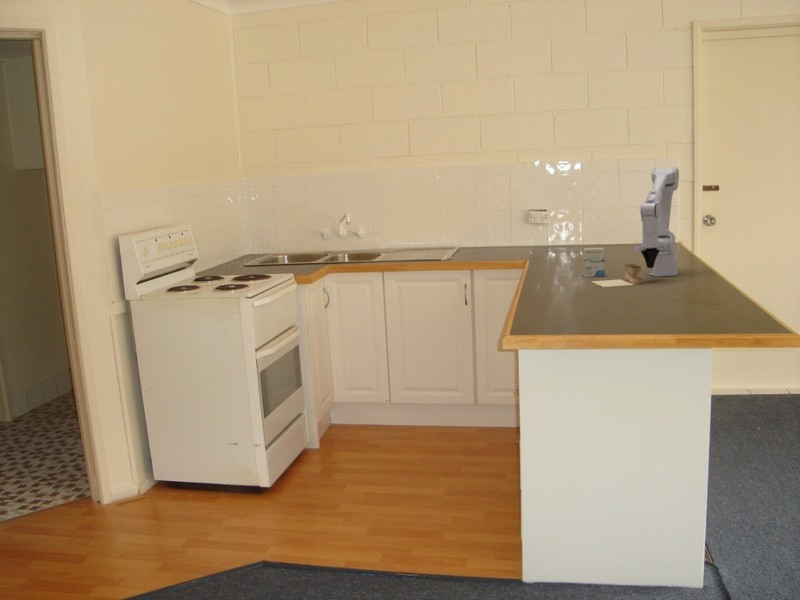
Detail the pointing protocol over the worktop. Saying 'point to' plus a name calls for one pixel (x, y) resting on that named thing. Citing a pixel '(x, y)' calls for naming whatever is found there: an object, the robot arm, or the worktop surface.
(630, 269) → the oak slab
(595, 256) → the ink box
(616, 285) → the mat
